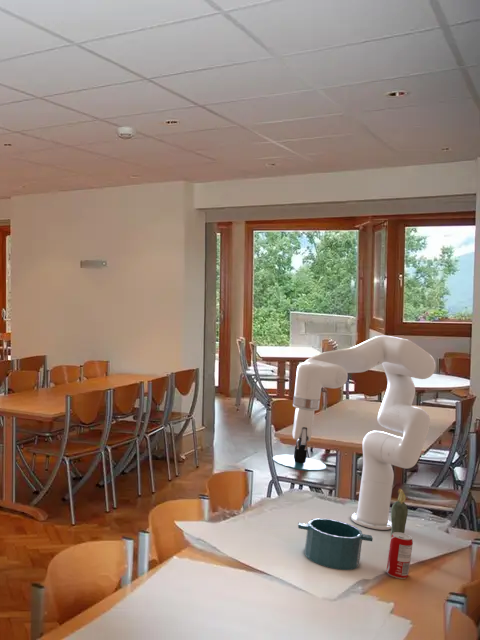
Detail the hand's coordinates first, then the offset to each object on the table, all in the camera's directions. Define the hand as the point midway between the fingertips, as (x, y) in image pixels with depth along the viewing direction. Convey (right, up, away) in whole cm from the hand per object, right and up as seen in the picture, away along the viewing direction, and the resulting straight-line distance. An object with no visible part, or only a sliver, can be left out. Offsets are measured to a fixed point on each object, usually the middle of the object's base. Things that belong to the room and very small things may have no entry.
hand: (299, 460), depth 233 cm
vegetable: (+27, -28, -5) cm, 39 cm away
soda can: (+19, -29, -21) cm, 41 cm away
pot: (+4, -27, -13) cm, 30 cm away
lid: (0, -1, 0) cm, 1 cm away
